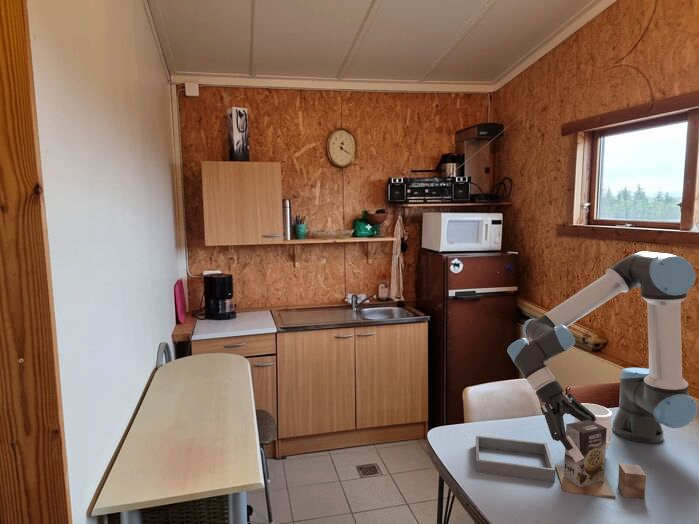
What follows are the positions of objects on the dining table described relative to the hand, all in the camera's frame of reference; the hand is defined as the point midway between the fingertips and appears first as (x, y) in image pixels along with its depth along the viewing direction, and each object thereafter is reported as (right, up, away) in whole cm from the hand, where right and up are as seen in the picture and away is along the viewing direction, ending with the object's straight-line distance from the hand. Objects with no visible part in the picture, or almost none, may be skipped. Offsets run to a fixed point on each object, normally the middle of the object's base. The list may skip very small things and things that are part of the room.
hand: (592, 452), depth 129 cm
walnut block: (+9, -10, -3) cm, 14 cm away
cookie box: (-1, -9, +3) cm, 10 cm away
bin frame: (-18, -9, +13) cm, 24 cm away
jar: (+9, -8, +18) cm, 21 cm away
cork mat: (-1, -10, +3) cm, 10 cm away
